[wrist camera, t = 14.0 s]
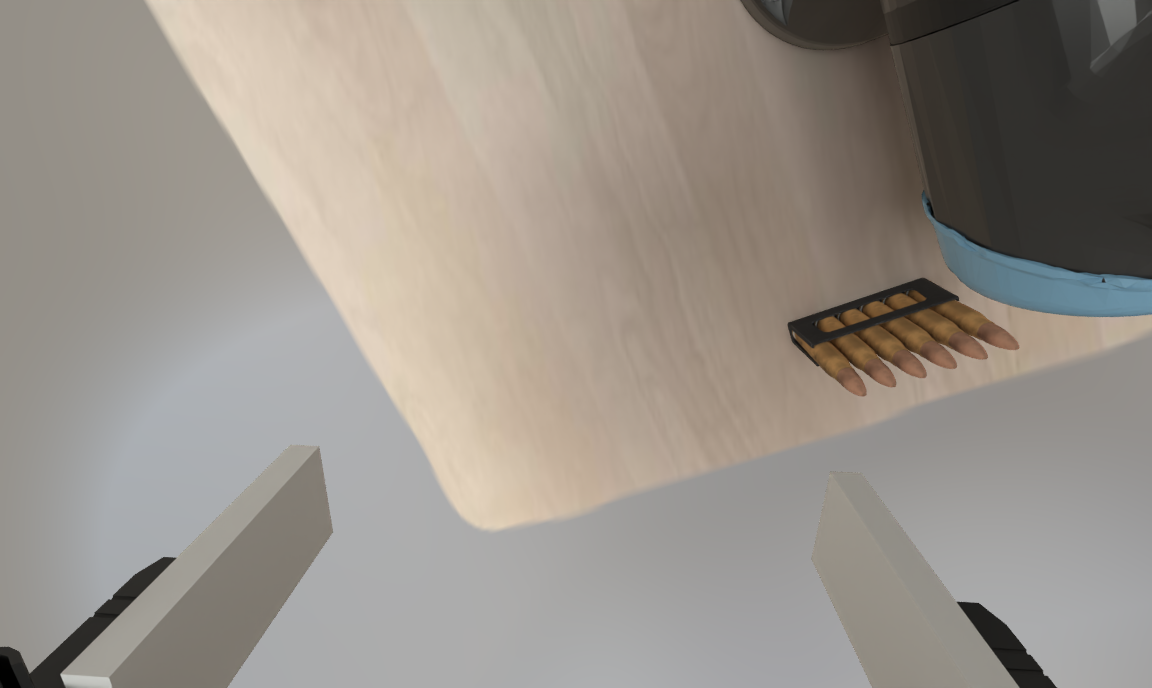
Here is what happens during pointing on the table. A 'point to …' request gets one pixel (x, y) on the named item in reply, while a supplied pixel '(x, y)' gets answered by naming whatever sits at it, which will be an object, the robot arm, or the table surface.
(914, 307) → the ammunition clip
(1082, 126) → the robot arm
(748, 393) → the table surface
